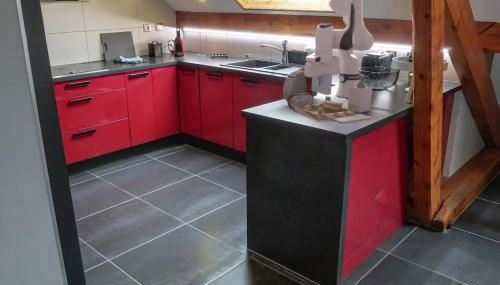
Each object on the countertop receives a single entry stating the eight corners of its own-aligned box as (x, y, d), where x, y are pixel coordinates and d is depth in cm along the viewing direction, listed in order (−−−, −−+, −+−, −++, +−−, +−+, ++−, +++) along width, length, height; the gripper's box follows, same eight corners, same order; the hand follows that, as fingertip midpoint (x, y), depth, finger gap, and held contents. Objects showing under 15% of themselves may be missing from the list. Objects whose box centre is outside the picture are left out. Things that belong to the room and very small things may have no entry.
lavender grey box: (315, 89, 223) (317, 70, 220) (330, 94, 214) (332, 74, 210) (311, 90, 222) (312, 71, 219) (326, 95, 212) (327, 75, 209)
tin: (311, 106, 237) (312, 91, 234) (313, 107, 234) (314, 92, 231) (286, 108, 232) (287, 93, 229) (289, 109, 229) (289, 94, 227)
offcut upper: (326, 105, 228) (326, 100, 227) (341, 108, 224) (342, 102, 223) (322, 107, 225) (323, 101, 224) (338, 109, 220) (339, 104, 219)
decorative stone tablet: (310, 63, 253) (281, 74, 232) (320, 64, 249) (291, 76, 228) (310, 95, 260) (281, 108, 239) (319, 96, 256) (291, 110, 235)
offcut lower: (326, 110, 231) (326, 105, 230) (342, 114, 223) (343, 109, 222) (320, 111, 228) (320, 106, 227) (336, 116, 220) (336, 110, 219)
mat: (360, 115, 221) (361, 114, 220) (370, 118, 215) (370, 117, 215) (332, 119, 212) (332, 118, 211) (342, 123, 206) (342, 122, 206)
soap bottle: (359, 112, 225) (363, 77, 219) (347, 109, 232) (350, 74, 225) (370, 110, 230) (374, 75, 224) (357, 107, 236) (361, 73, 230)
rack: (327, 106, 237) (328, 96, 235) (353, 115, 220) (354, 104, 218) (294, 111, 226) (295, 100, 224) (319, 121, 209) (320, 109, 207)
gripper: (335, 54, 219) (333, 81, 224) (303, 57, 210) (301, 85, 214) (343, 56, 214) (341, 83, 219) (310, 59, 204) (309, 87, 209)
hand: (321, 84), depth 216 cm, fingers closed on lavender grey box, 3 cm apart
